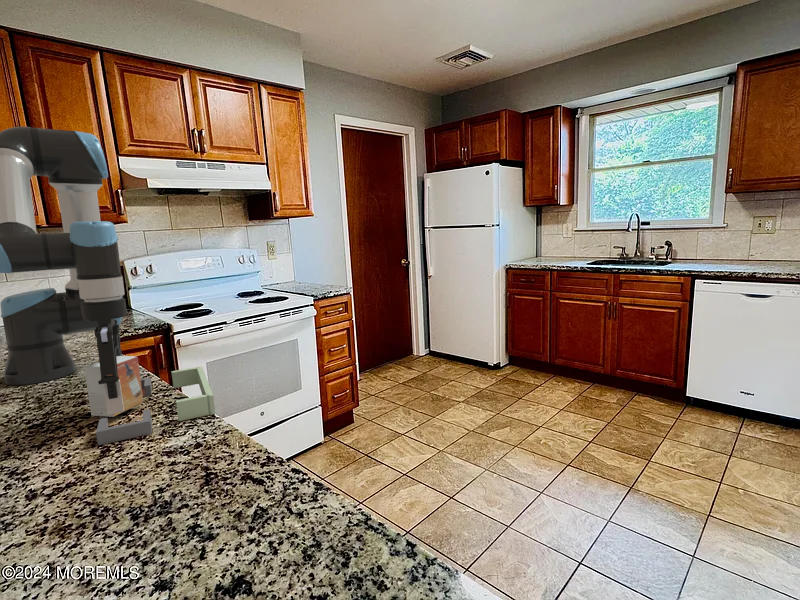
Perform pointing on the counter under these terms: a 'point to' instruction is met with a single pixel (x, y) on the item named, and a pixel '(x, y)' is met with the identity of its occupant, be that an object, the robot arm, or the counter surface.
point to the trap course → (184, 406)
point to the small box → (128, 382)
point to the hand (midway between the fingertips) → (117, 404)
